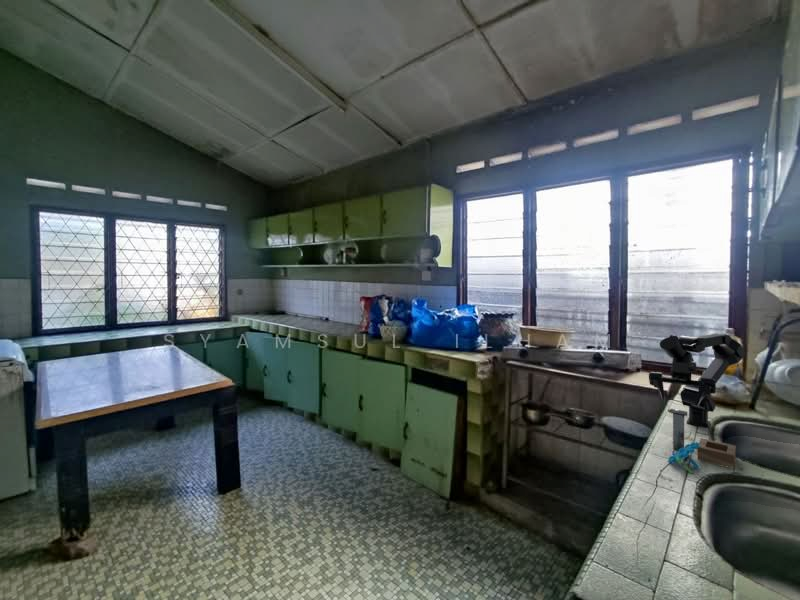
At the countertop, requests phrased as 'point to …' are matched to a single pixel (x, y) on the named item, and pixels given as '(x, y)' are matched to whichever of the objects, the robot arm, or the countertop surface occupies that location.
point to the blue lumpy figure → (685, 455)
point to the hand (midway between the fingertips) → (679, 403)
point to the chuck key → (678, 428)
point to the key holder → (716, 452)
